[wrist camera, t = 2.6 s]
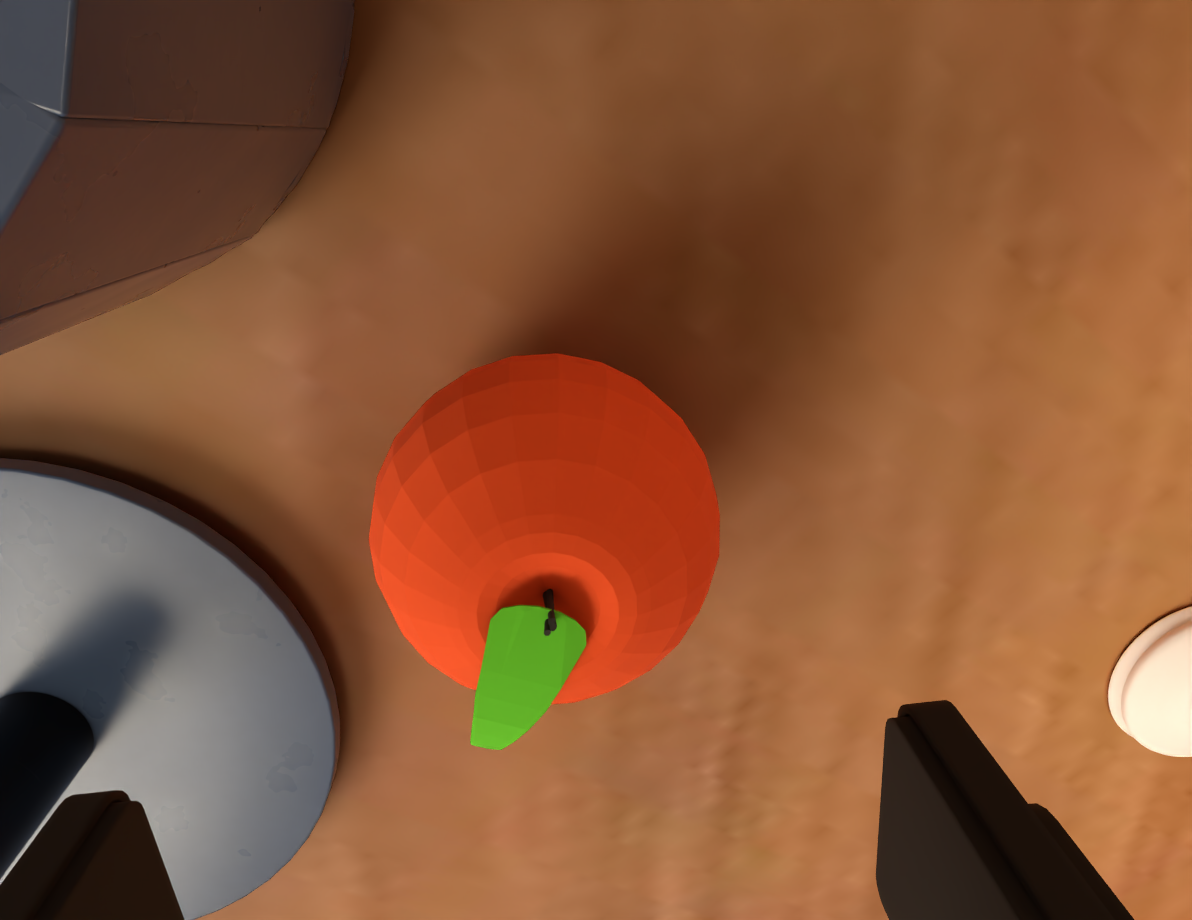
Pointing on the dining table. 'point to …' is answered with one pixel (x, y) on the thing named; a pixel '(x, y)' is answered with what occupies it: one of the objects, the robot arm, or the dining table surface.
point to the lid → (155, 682)
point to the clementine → (543, 535)
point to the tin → (149, 141)
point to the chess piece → (1157, 686)
